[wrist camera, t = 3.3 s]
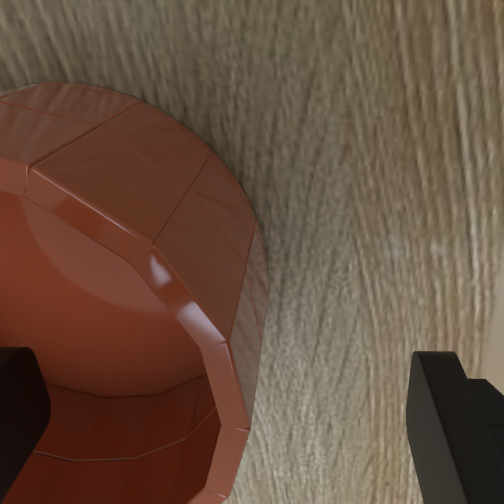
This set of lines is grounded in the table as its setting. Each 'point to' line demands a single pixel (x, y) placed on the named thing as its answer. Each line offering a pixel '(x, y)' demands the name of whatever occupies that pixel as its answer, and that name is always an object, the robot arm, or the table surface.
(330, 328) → the table surface
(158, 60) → the table surface
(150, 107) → the bowl
